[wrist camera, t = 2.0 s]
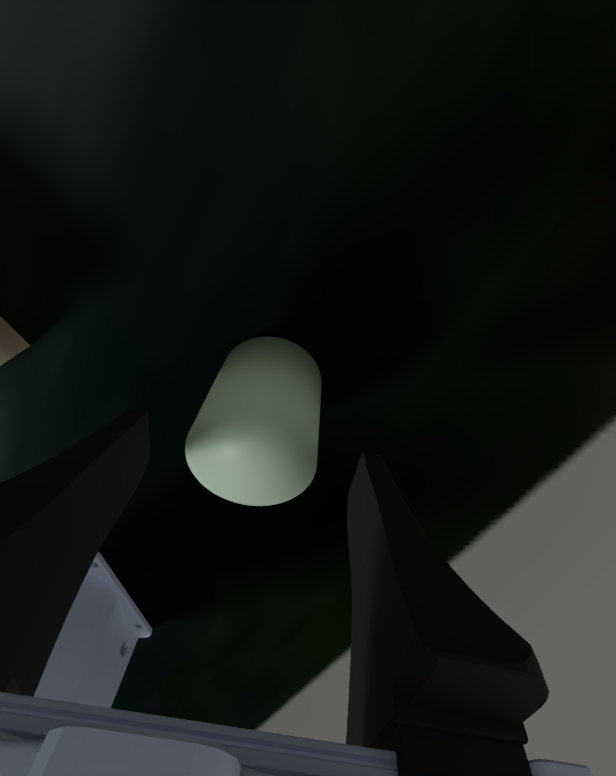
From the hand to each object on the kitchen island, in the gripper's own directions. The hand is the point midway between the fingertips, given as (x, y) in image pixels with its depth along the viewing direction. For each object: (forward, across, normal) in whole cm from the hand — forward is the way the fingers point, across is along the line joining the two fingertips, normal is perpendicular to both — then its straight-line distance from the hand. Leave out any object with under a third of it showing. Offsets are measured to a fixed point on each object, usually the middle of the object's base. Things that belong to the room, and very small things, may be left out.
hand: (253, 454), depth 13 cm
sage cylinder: (+5, 0, 0) cm, 5 cm away
